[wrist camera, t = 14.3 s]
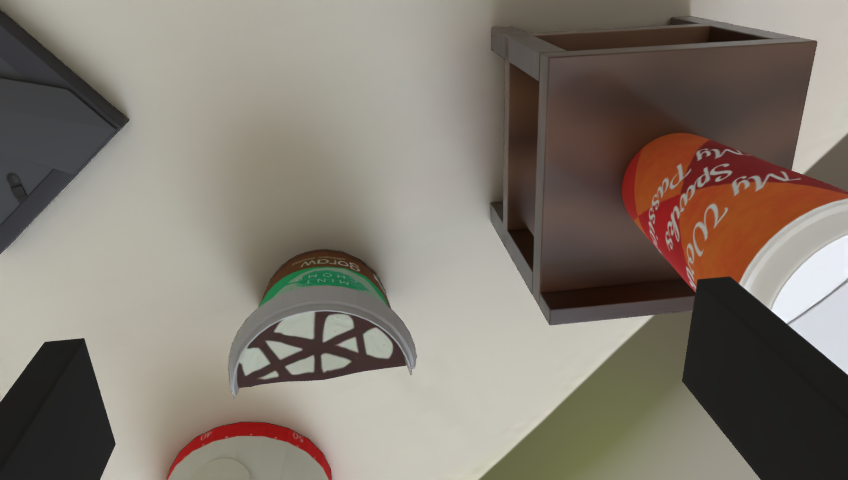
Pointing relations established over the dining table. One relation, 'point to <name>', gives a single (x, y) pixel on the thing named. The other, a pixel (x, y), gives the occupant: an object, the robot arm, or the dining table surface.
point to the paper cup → (748, 230)
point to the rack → (626, 146)
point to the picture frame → (43, 128)
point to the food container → (319, 325)
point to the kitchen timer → (250, 455)
